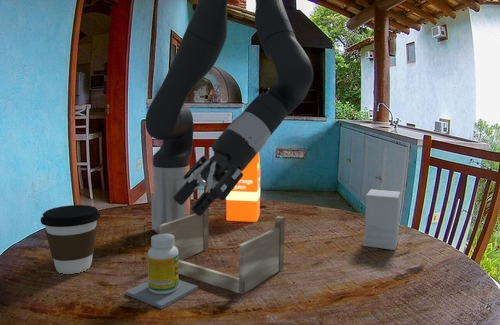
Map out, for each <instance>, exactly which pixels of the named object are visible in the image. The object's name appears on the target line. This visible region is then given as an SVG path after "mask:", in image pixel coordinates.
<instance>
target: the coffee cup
mask: <svg viewBox="0 0 500 325" xmlns="http://www.w3.org/2000/svg"><path fill="white" fill-rule="evenodd" d="M100 218H101V213H100V212H99V210H98V208H96V207H95V206H92V205H86V204H75V205H74V204H71V205H63V206H57V207H51V208H50V209H47V210H45V211H44V212H43V213H42V217H41V218H40V223H41V224H42V225H43V226H45V227H44V228H45V234H46V238H47V243H48V247H49V250H50V254H51V258H52V259H53V263H54V267H55V270H56V272H57V273H58V272H59V273H58V274H60V273H63V274H74V273H79V274H81V273H80V272H82V273H84V272H83V271H85V272H87V271H88V270H89V269H90V267H91V265H92V261H93V256H94V255H93V254H94V252H95V244H96V237H97V230H98V225H97V222H98V220H99V219H100ZM87 269H88V270H87ZM86 270H87V271H86ZM63 274H62V275H63ZM74 275H75V274H74Z"/></svg>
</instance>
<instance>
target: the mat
mask: <svg viewBox="0 0 500 325" xmlns="http://www.w3.org/2000/svg"><path fill="white" fill-rule="evenodd" d="M197 290H199V286H198V285H195V284H192V283H190V282H187V281H185V280H181V279H179V286H178V289H177V290H176V291H174V292H172V293H169V294H155V293H153V292H151V291H150V290H149V288H148V280H147V281H144V282H143V283H140V284H138V285H136V286H134V287H131V288H129V289H127V290H125V292H124V293H125V295H126V296H128V297H131V298H134V299H136V300H139V301H141V302H143V303H146V304H148V305H151V306H154V307H156V308H158V309H160V310H162V309H164V308H167V307H168V306H170V305H172V304H174V303H176V302H177V301H179V300H181V299H183V298H185V297H186V296H188V295H190V294H192V293H193V292H196V291H197Z"/></svg>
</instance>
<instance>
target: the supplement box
mask: <svg viewBox="0 0 500 325" xmlns="http://www.w3.org/2000/svg"><path fill="white" fill-rule="evenodd" d="M401 193H402V192H401V191H396V190H395V191H393V190H383V189H373V188H370V190H368V192H367V193H366V194H365V208H364V209H365V213H364V231H363V232H364V238H363V239H364V241H363V245H364V247H370V248H377V249H384V250H391V251H396V249H397V245H398V243H399V233H400V231H399V228H400V227H399V226H400V213H401V212H400V211H401V195H402V194H401Z"/></svg>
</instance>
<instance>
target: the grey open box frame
mask: <svg viewBox="0 0 500 325" xmlns="http://www.w3.org/2000/svg"><path fill="white" fill-rule="evenodd" d="M285 220H286V217H285V216H281V215H278V216H276V217H274V228H272V229H270V230H268V231H266V232H264V233H261V234H259V235H257V236H255V237H253V238H251V239H249V240H247V241H245V242H243V243H240V244H238V248H239V249H238V250H239V251H238V252H239V254H238V255H239V256H238V258H239V260H238V261H239V262H238V264H239V265H238V270H239V271H238V273H239V274H238V276H235V275H231V274H228V273H226V272H221V271H218V270H215V269H212V268H208V267H204V266H202V265H198V264H195V263H192V262H188V261H185V260H186V259H188V258H191V257H193V256H195V255H197V254H200V253H201V252H202V253H203V252H206V251H208V250H209V207H208V208H207V209H206V211H205V212H204V213H203V214H202V215H201V216H198V215H196V214H195V213H193V214H190V215H189V216H186V217H183V218H180V219H177V220H174V221H171V222H168V223H164V224H161V225H159V232H160V234H172V235H174V239H175V243H174V245H173V246H175V247H176V248H177V249H178V253H179V275H181V276H184V277H188V278H190V279H194V280H197V281H200V282H202V283H206V284H209V285H212V286H215V287H219V288H221V289H224V290H228V291H231V292H233V293H237V294H241V295H244V294H246V293H247V292H249V291H250V290H252V289H253V288H255V287H257V286H259V284H261V283H264V282H265V281H266V280H268V279H269V278H271V277H272V276H273V275H275V274H277V273H278V272H282V271H283V270H284V268H285V267H284V265H285V264H284V262H285Z"/></svg>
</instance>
